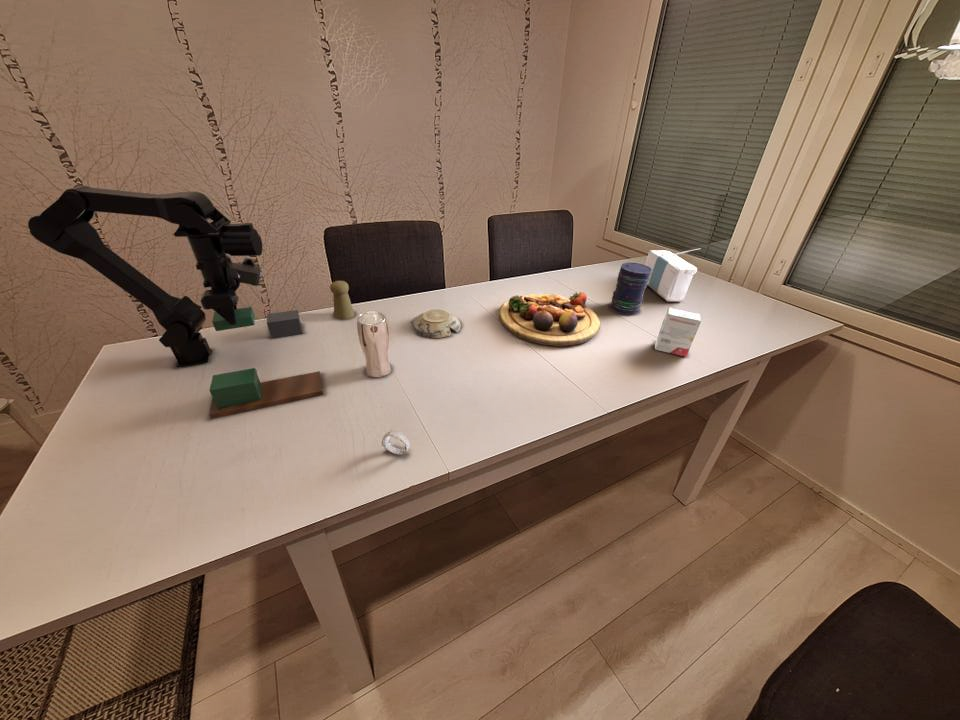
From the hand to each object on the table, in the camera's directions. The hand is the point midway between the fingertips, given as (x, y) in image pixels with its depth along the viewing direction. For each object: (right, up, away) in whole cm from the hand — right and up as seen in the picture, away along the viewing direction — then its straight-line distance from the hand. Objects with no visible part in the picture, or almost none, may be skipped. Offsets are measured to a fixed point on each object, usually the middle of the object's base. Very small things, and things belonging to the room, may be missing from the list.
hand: (234, 318), depth 90 cm
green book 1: (+7, -16, -10) cm, 20 cm away
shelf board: (+12, -18, -6) cm, 23 cm away
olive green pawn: (+17, +4, +27) cm, 32 cm away
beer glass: (+34, -13, +4) cm, 37 cm away
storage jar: (+111, +8, +40) cm, 118 cm away
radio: (+131, +17, +54) cm, 142 cm away
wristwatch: (+44, -28, -18) cm, 55 cm away
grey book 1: (+4, 0, +15) cm, 16 cm away
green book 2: (+7, -18, -9) cm, 21 cm away
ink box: (+116, -7, +19) cm, 118 cm away
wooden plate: (+82, +2, +30) cm, 87 cm away
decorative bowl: (+46, 0, +24) cm, 52 cm away
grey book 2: (+4, -2, +17) cm, 17 cm away
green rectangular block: (0, -1, +1) cm, 1 cm away
